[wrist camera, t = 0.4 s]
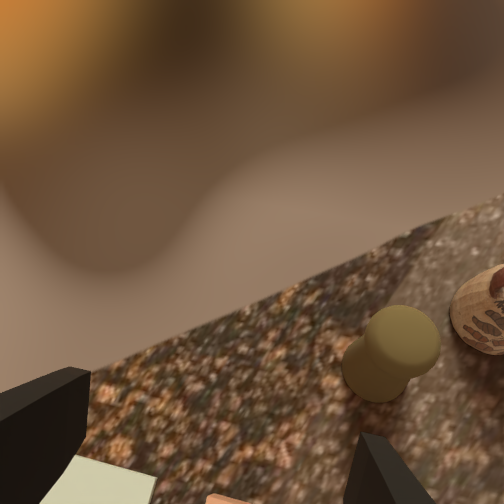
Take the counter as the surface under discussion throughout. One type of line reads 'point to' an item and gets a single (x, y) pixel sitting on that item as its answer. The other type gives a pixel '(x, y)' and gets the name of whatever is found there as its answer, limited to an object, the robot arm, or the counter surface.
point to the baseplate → (100, 485)
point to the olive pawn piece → (391, 353)
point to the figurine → (481, 311)
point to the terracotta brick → (222, 500)
